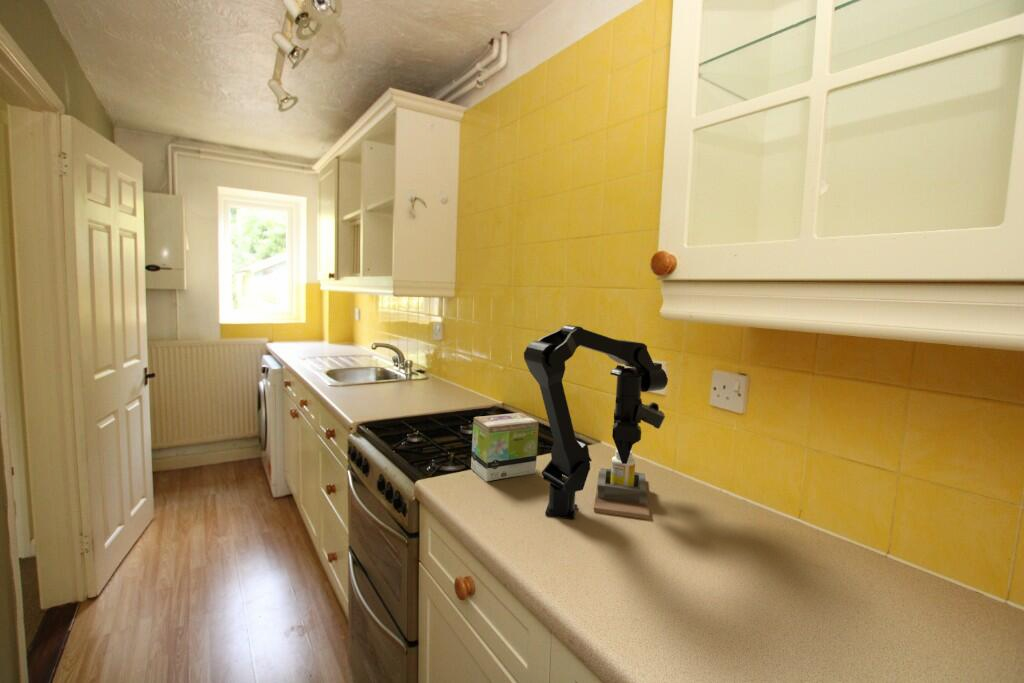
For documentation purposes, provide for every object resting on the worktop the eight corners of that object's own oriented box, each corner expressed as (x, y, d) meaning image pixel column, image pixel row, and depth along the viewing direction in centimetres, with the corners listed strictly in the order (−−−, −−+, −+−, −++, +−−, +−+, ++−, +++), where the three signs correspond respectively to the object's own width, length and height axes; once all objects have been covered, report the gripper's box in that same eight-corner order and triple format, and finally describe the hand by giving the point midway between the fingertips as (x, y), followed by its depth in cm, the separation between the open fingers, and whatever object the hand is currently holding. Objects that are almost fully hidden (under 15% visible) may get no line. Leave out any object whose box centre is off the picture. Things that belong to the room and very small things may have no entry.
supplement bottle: (630, 486, 117) (632, 447, 116) (635, 496, 111) (638, 455, 110) (607, 485, 117) (610, 446, 116) (612, 495, 112) (614, 454, 110)
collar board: (649, 519, 102) (650, 502, 102) (593, 511, 105) (594, 494, 105) (644, 480, 124) (645, 465, 123) (598, 474, 126) (599, 460, 126)
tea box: (486, 483, 118) (488, 426, 117) (470, 469, 127) (471, 416, 125) (537, 473, 126) (539, 420, 124) (518, 461, 134) (520, 410, 133)
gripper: (667, 406, 101) (662, 475, 103) (660, 388, 119) (656, 447, 121) (614, 401, 103) (610, 469, 105) (615, 384, 121) (612, 443, 123)
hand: (624, 456), depth 113 cm, fingers open, 9 cm apart
